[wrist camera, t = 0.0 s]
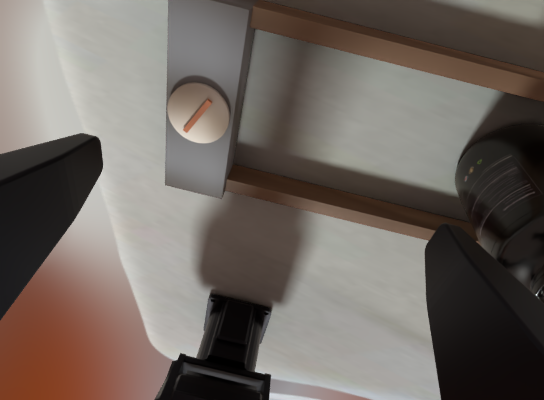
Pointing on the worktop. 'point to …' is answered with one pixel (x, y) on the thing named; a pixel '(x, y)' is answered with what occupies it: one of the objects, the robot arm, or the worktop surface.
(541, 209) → the supplement bottle
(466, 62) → the wooden frame
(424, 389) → the worktop surface
